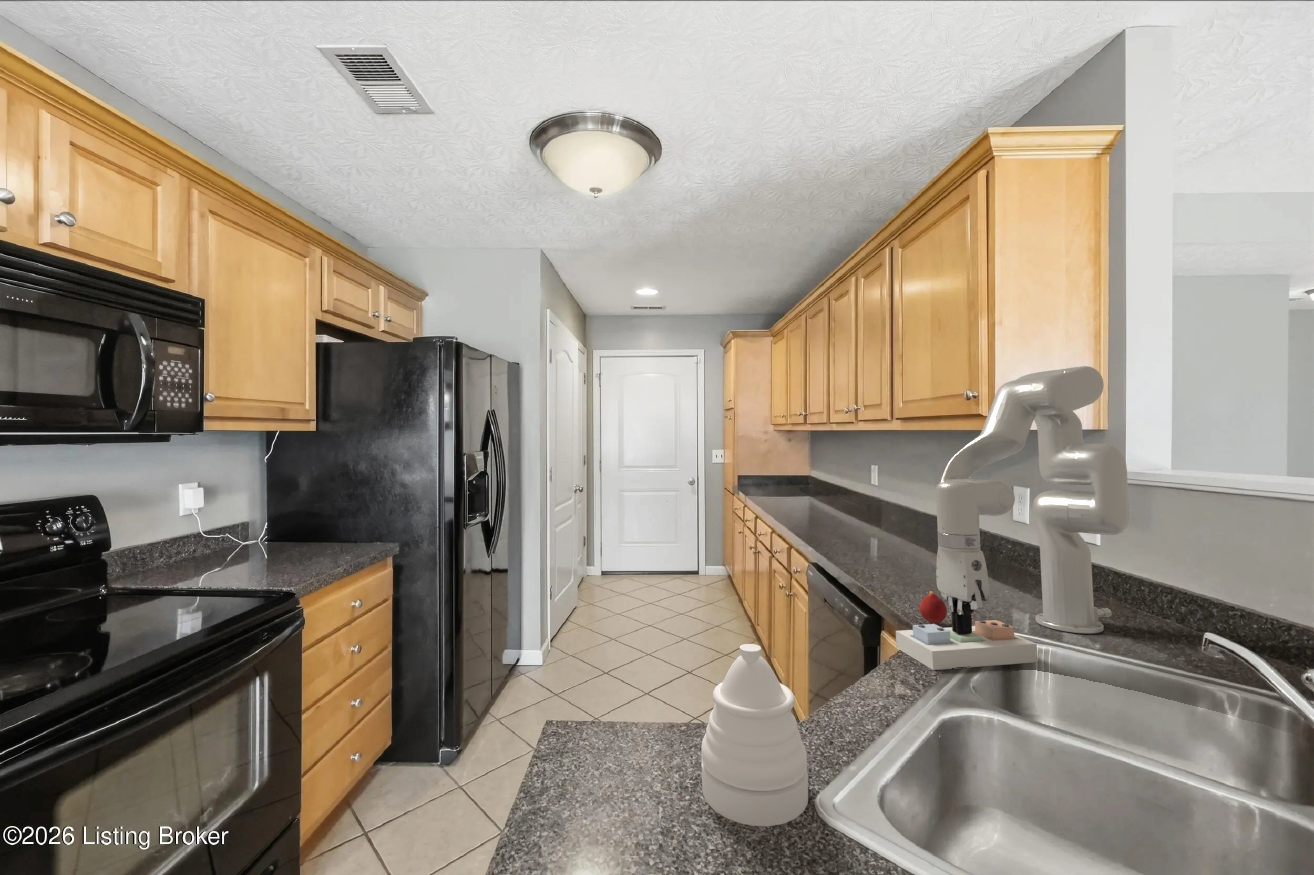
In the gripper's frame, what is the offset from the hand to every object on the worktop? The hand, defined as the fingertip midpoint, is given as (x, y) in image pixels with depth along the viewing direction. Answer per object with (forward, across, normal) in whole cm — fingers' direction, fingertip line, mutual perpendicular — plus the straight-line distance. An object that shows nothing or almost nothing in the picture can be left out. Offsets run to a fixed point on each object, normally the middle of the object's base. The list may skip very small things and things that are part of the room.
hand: (962, 632), depth 107 cm
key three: (+2, 0, -7) cm, 7 cm away
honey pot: (+5, -35, +55) cm, 66 cm away
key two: (+2, 0, +7) cm, 7 cm away
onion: (+5, +18, -6) cm, 20 cm away
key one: (+3, 0, 0) cm, 3 cm away
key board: (+4, 0, 0) cm, 5 cm away
